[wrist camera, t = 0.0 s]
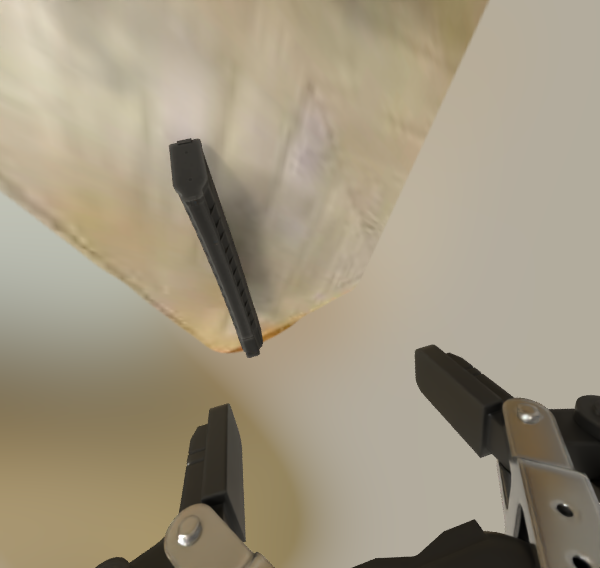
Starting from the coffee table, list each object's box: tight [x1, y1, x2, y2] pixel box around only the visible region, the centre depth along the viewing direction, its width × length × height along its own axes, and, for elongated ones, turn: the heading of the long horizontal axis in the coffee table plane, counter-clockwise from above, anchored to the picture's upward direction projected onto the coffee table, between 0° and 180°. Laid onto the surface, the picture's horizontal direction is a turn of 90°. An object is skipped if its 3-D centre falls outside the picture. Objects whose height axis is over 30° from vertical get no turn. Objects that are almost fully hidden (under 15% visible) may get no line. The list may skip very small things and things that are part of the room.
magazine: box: [169, 139, 263, 358], centre depth 38 cm, size 17×3×30 cm
